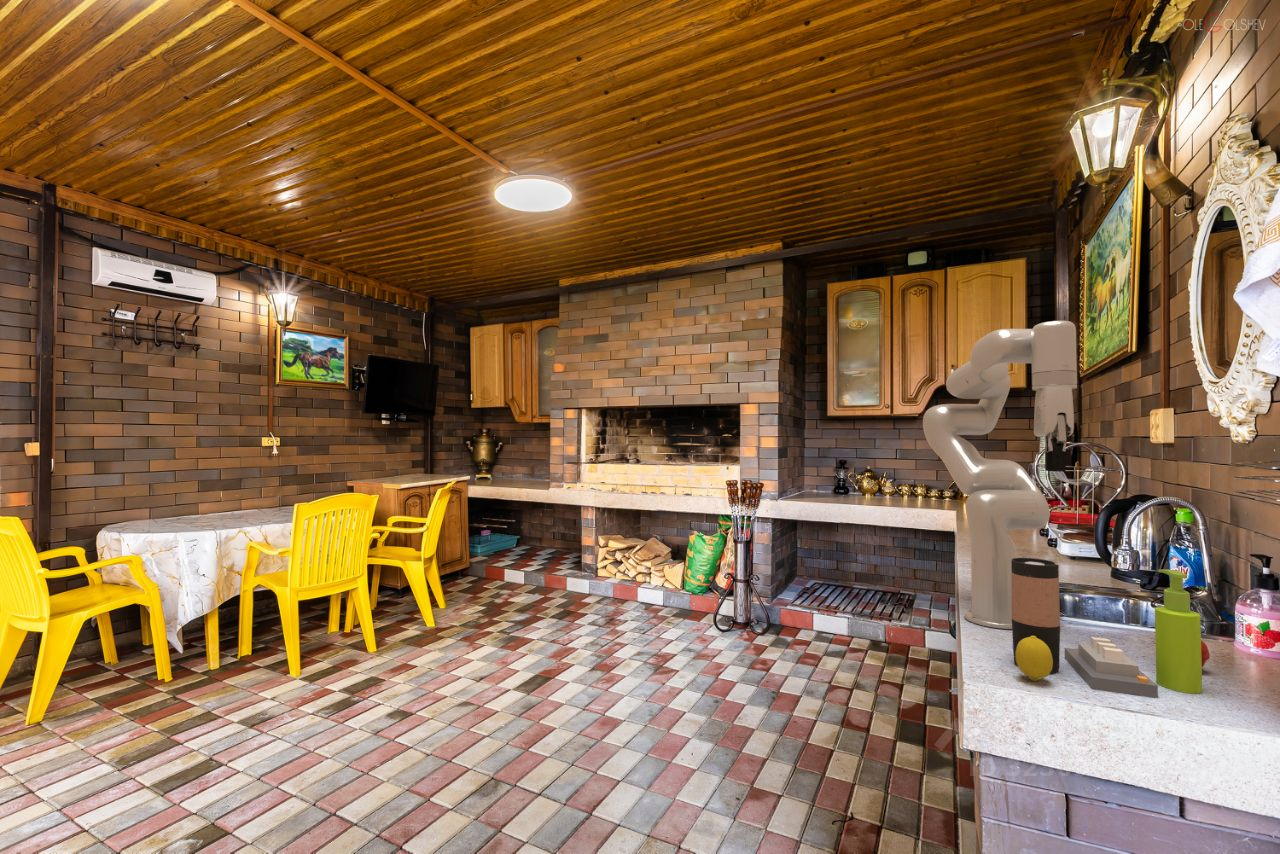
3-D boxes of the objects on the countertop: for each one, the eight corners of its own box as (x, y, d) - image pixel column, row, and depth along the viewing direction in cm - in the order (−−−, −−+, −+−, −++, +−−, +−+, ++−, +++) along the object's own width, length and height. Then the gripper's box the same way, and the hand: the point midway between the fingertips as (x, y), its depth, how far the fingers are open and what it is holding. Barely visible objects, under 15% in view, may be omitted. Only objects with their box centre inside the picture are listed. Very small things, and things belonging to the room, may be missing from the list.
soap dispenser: (1186, 679, 104) (1183, 568, 105) (1210, 695, 97) (1207, 576, 98) (1146, 675, 106) (1143, 566, 106) (1167, 690, 99) (1165, 574, 100)
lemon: (1059, 688, 100) (1058, 641, 100) (1024, 685, 101) (1023, 639, 101) (1043, 676, 105) (1043, 632, 105) (1010, 673, 106) (1009, 629, 106)
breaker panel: (1064, 657, 114) (1064, 628, 115) (1120, 664, 111) (1120, 634, 111) (1092, 688, 100) (1091, 655, 100) (1158, 697, 96) (1157, 662, 96)
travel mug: (1003, 662, 112) (1001, 559, 112) (1028, 657, 115) (1027, 556, 115) (1044, 677, 104) (1042, 566, 105) (1070, 671, 108) (1068, 563, 108)
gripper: (1024, 386, 127) (1025, 469, 126) (1041, 378, 113) (1043, 472, 112) (1065, 385, 124) (1066, 470, 123) (1088, 377, 110) (1090, 473, 109)
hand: (1055, 471), depth 118 cm, fingers closed
